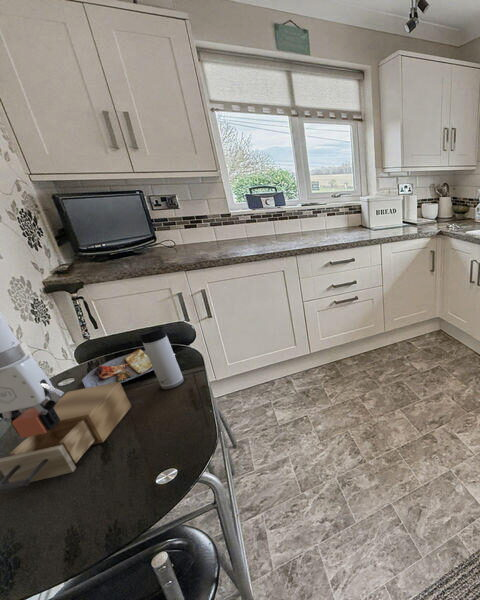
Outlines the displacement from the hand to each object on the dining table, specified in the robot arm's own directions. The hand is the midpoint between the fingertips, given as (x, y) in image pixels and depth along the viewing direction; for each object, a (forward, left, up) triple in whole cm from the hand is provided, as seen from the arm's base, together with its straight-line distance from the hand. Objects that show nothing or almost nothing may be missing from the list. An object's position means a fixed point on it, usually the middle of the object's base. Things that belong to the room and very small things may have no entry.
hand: (40, 427), depth 74 cm
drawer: (-1, -2, -10) cm, 10 cm away
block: (0, 0, 0) cm, 0 cm away
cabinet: (+4, +11, -11) cm, 16 cm away
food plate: (+10, +42, -11) cm, 45 cm away
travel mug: (+23, +21, -11) cm, 33 cm away
